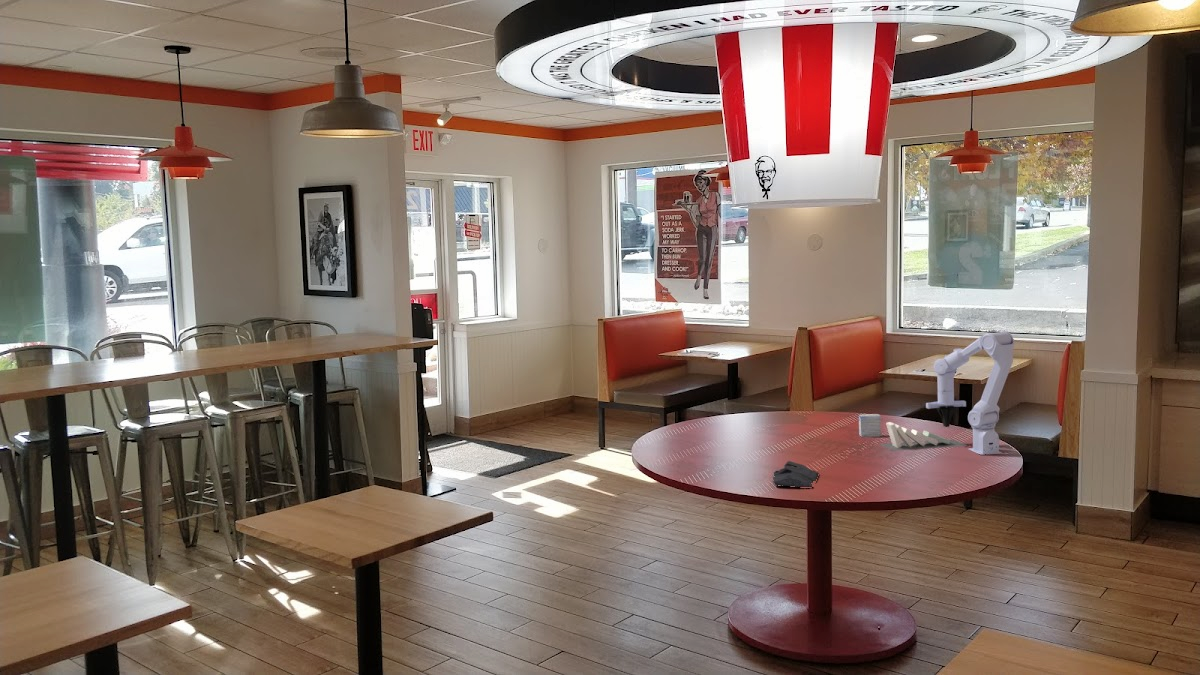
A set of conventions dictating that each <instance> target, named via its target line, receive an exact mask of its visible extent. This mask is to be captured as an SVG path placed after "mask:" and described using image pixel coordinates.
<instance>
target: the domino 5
mask: <svg viewBox="0 0 1200 675" xmlns="http://www.w3.org/2000/svg"><path fill="white" fill-rule="evenodd" d="M922 434H924V435H926V436H928V437H930V438H932V439H934V440H936V441H941V442H943V443H946V444H949V445H950V442H951V441H950V440H951V439H947V438H945V437H943V436H940V435H938V434H935V433H932V432H931V431H930V432H929V431H927V430H925V429H924V430H923V432H922Z"/></svg>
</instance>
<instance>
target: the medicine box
mask: <svg viewBox="0 0 1200 675" xmlns="http://www.w3.org/2000/svg"><path fill="white" fill-rule="evenodd" d="M881 417H882V416H881V414H878V413H871V414H867V413H865V414H859V415H858V433H859V437H860V436H861V437H864V438H876V437H882V418H881ZM861 437H860V438H861Z"/></svg>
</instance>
